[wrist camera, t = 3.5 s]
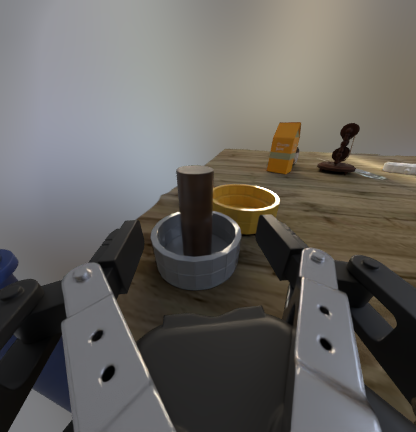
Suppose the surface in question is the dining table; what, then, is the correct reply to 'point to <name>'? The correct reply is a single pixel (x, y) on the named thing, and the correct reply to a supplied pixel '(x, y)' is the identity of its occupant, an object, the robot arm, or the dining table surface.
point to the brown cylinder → (196, 208)
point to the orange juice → (284, 147)
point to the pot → (201, 265)
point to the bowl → (245, 204)
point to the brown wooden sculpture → (342, 151)
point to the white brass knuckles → (400, 168)
